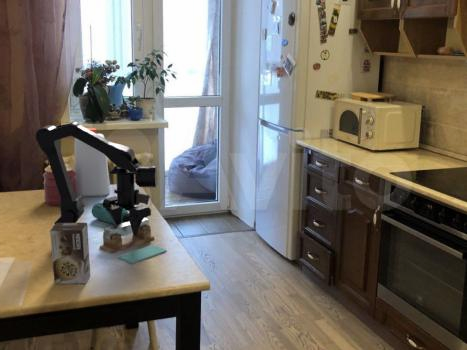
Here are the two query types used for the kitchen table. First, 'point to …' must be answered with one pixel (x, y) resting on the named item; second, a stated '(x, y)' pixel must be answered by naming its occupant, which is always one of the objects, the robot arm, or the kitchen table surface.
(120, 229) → the rail
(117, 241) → the rack
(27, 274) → the kitchen table surface
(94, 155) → the plastic bottle
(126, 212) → the beverage bottle
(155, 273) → the kitchen table surface
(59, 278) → the coffee box
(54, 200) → the canister
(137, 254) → the mat
